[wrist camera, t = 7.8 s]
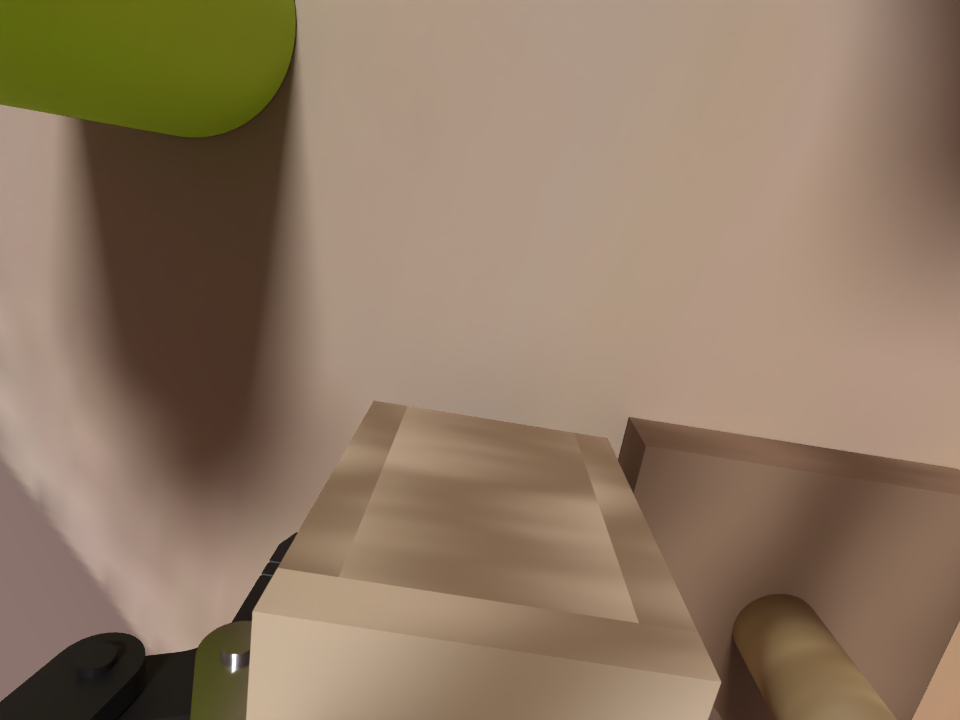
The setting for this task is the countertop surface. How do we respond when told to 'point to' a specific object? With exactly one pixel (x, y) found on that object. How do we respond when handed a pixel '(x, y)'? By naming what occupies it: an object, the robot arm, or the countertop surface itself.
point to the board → (804, 567)
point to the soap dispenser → (146, 60)
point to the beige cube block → (475, 586)
